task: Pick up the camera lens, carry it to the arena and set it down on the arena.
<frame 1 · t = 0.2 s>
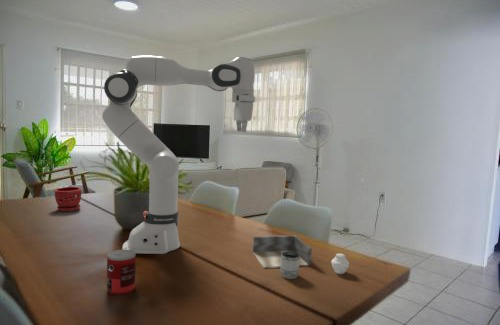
hand: (241, 131, 145), 48 cm above the table, tool pointing down, fingers open, 8 cm apart
white rounded ceramic piece: (339, 272, 124), on the table
canned food: (121, 290, 104), on the table
camera lens: (289, 276, 119), on the table
plant pot: (68, 210, 194), on the table
arena: (280, 259, 134), on the table
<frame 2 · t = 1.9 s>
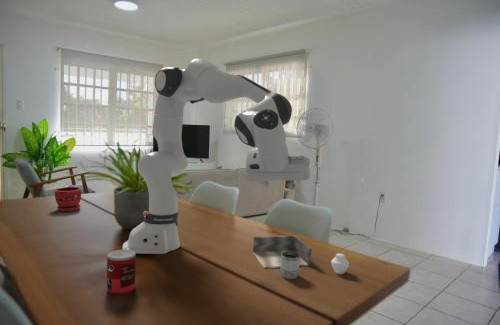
hand: (280, 185, 115), 31 cm above the table, tool tilted 45°, fingers open, 8 cm apart
nothing on the table moved.
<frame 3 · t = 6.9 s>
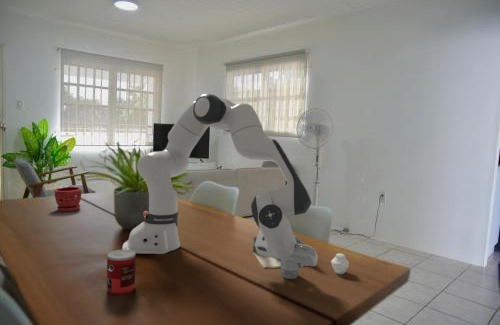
hand: (290, 262, 119), 4 cm above the table, tool tilted 45°, fingers closed on camera lens, 6 cm apart
camera lens: (289, 276, 119), on the table, touching gripper
everything else where it was.
when the fingers open (6 cm above the table, at t = 12.5 s): camera lens drops 1 cm, resting on arena.
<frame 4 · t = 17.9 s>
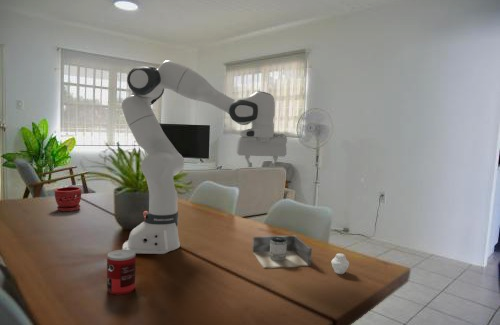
hand: (261, 167, 141), 34 cm above the table, tool pointing down, fingers open, 8 cm apart
camera lens: (277, 259, 133), resting on arena
everything else where it was.
at the end: camera lens inside the target area on the arena (0.7 cm from its centre), point 0.4 cm above the arena's base; camera lens tilted 0°; the gripper is holding nothing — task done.
